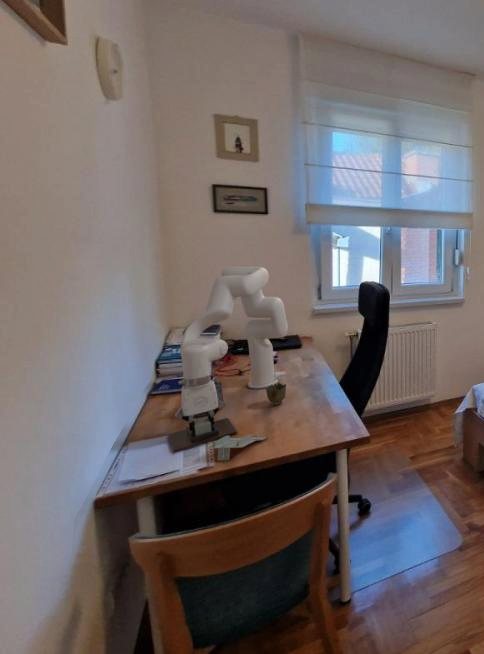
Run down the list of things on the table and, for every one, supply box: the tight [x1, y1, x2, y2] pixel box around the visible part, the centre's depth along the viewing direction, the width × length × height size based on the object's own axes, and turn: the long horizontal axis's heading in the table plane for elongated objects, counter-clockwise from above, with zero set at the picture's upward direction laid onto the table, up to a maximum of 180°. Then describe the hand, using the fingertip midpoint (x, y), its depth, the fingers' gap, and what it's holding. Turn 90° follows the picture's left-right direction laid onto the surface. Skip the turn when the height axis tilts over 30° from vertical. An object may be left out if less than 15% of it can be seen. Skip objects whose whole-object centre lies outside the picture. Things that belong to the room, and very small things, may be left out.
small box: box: [193, 381, 225, 418], centre depth 165 cm, size 11×6×10 cm, turn 5°
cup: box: [265, 382, 287, 407], centre depth 172 cm, size 8×7×8 cm
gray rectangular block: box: [193, 416, 211, 436], centre depth 147 cm, size 4×7×4 cm, turn 43°
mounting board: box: [168, 417, 238, 454], centre depth 147 cm, size 18×14×2 cm
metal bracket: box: [205, 434, 267, 462], centre depth 139 cm, size 14×6×15 cm
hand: (202, 428), depth 147 cm, fingers closed on gray rectangular block, 4 cm apart
